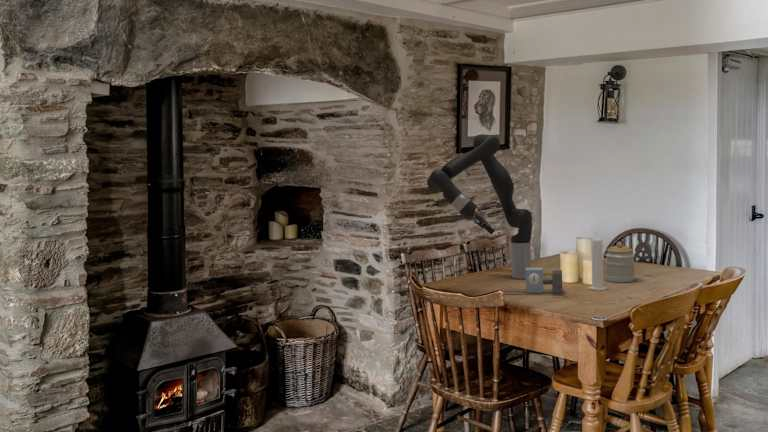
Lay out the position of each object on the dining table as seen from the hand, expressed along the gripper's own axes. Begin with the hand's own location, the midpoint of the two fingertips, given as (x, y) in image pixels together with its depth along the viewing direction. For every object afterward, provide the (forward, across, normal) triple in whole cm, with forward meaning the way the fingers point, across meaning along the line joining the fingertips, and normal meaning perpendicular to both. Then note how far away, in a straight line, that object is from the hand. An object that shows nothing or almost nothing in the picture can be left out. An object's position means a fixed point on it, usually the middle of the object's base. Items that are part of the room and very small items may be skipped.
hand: (493, 232), depth 313 cm
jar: (+58, +30, -19) cm, 68 cm away
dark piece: (+30, -3, +8) cm, 31 cm away
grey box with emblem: (+31, -3, +5) cm, 32 cm away
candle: (+50, +10, -12) cm, 52 cm away
